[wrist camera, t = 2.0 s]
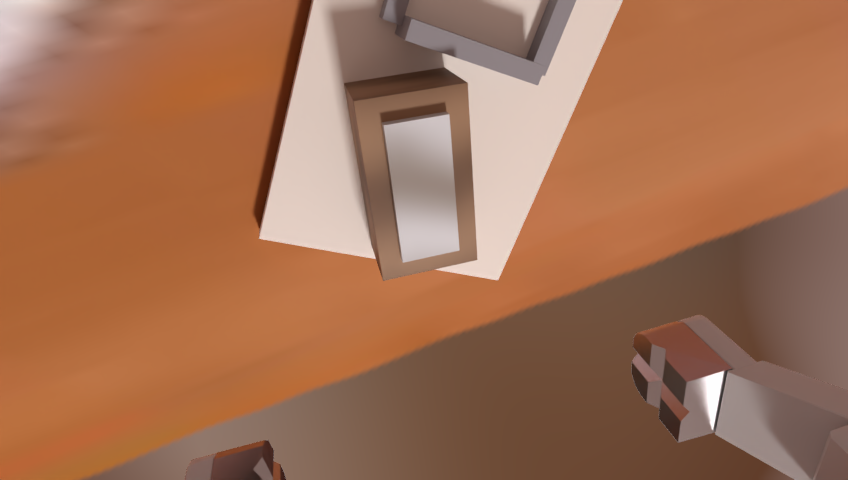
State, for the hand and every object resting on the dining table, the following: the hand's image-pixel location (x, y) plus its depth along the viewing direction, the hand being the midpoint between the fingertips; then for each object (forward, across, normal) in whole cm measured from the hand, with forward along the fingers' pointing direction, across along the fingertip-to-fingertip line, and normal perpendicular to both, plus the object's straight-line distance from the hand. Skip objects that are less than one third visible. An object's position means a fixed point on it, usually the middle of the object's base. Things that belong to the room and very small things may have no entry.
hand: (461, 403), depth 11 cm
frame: (+20, -2, +3) cm, 21 cm away
